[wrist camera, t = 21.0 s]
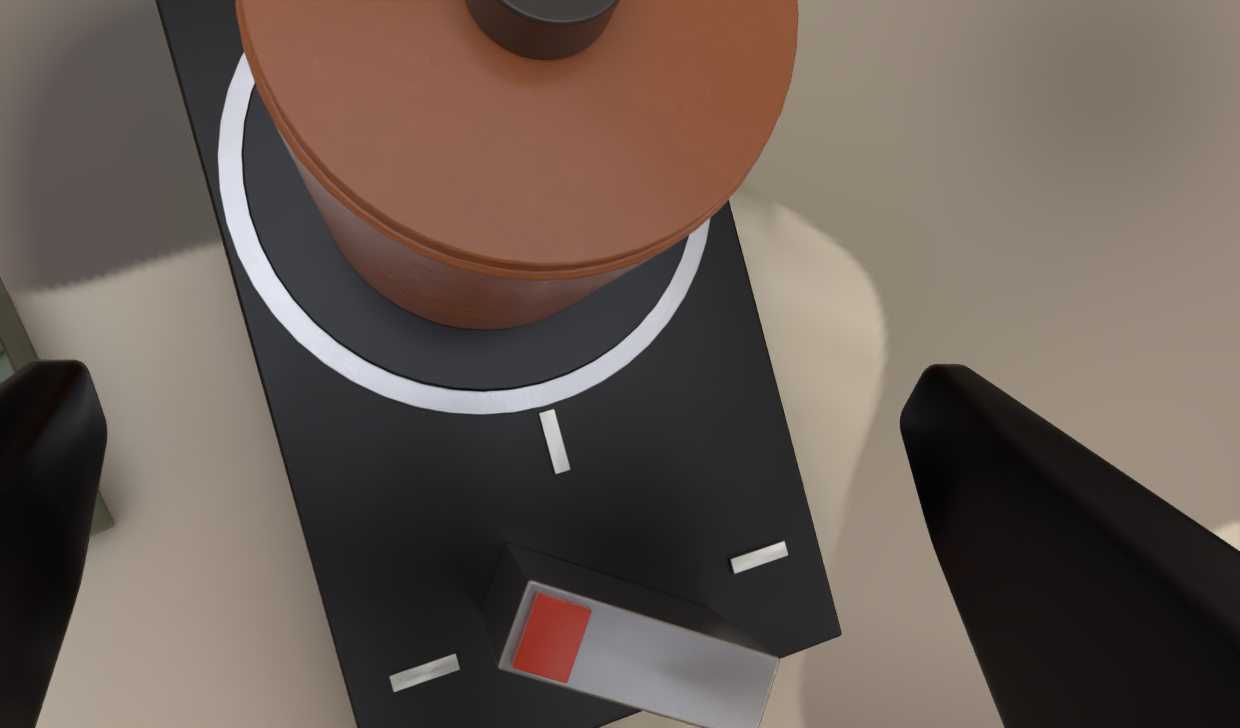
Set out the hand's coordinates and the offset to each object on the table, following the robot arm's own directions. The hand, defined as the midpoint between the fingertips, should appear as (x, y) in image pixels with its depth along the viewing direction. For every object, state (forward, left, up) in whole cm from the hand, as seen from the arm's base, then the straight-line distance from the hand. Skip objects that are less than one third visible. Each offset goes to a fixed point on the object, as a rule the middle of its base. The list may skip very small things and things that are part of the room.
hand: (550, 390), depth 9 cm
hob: (0, -1, -11) cm, 11 cm away
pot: (+5, -1, -9) cm, 10 cm away
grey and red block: (-5, -1, -9) cm, 11 cm away
